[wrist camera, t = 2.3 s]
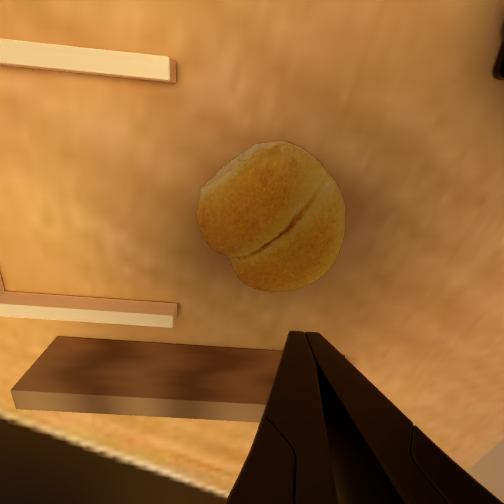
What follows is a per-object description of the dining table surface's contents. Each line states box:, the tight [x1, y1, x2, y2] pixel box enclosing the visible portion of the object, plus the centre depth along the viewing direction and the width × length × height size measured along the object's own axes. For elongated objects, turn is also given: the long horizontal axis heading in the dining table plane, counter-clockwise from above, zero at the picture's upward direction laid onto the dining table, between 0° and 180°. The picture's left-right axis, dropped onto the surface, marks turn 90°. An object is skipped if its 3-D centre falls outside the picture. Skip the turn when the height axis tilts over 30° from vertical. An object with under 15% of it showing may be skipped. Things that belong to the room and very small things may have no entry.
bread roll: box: [197, 141, 345, 292], centre depth 18 cm, size 8×9×4 cm
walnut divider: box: [11, 336, 345, 422], centre depth 22 cm, size 22×2×5 cm, turn 85°
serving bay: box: [0, 39, 177, 328], centre depth 19 cm, size 13×16×2 cm
